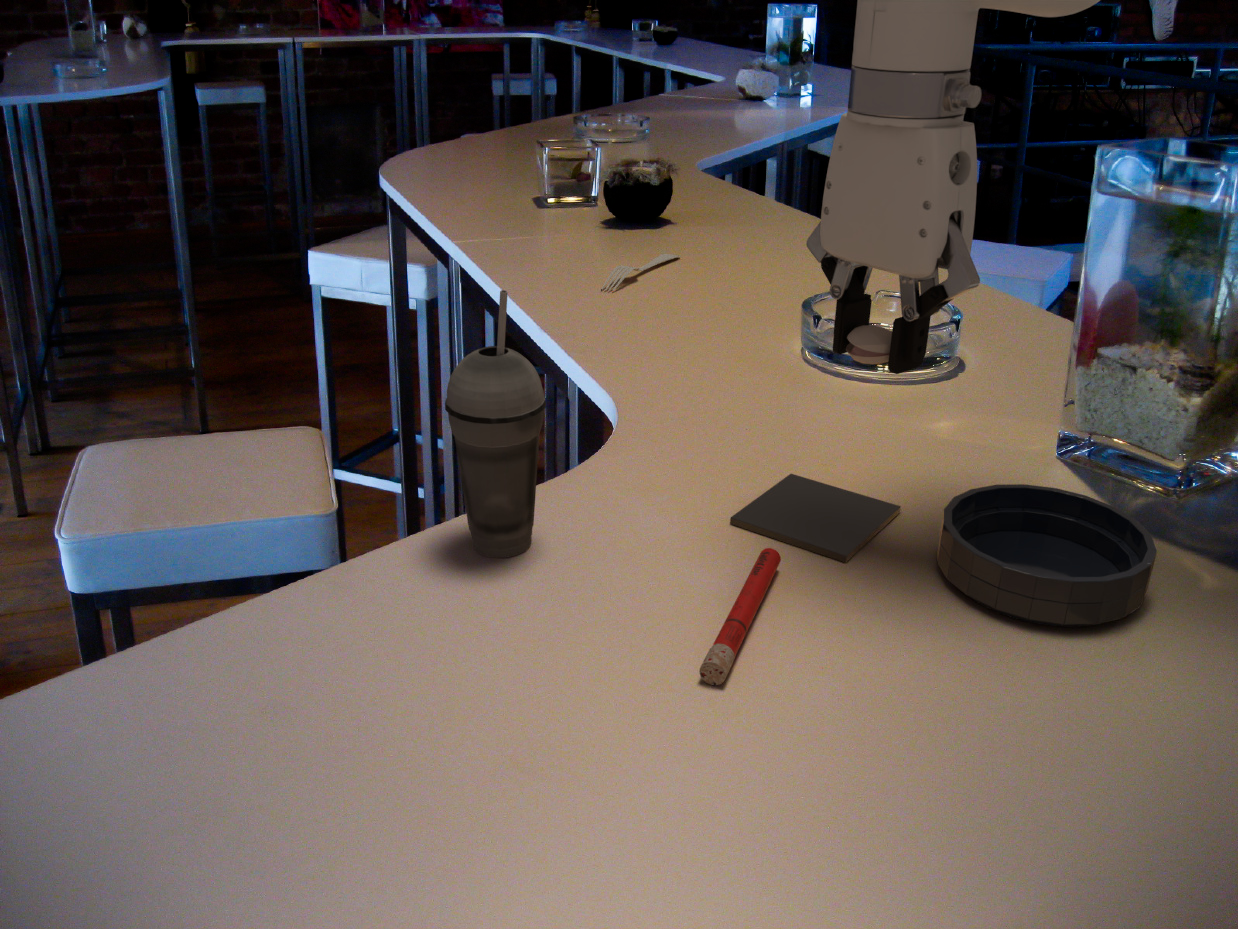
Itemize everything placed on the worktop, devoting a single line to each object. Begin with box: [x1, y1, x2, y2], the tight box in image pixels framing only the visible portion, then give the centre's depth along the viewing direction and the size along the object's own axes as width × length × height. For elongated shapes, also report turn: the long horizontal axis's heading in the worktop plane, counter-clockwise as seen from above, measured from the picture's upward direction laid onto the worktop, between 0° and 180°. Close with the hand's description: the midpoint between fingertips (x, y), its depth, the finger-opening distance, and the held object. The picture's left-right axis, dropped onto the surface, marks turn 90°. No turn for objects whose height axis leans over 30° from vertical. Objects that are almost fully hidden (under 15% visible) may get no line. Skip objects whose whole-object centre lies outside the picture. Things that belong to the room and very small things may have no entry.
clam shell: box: [846, 324, 892, 365], centre depth 78 cm, size 4×5×2 cm
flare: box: [698, 547, 782, 686], centre depth 73 cm, size 2×15×2 cm, turn 159°
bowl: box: [936, 483, 1158, 628], centre depth 78 cm, size 14×14×4 cm
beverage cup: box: [444, 289, 547, 559], centre depth 78 cm, size 7×7×20 cm
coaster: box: [729, 473, 901, 564], centre depth 87 cm, size 10×10×1 cm
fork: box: [601, 253, 681, 292], centre depth 151 cm, size 3×21×3 cm, turn 152°
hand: (876, 356), depth 79 cm, fingers closed on clam shell, 4 cm apart
